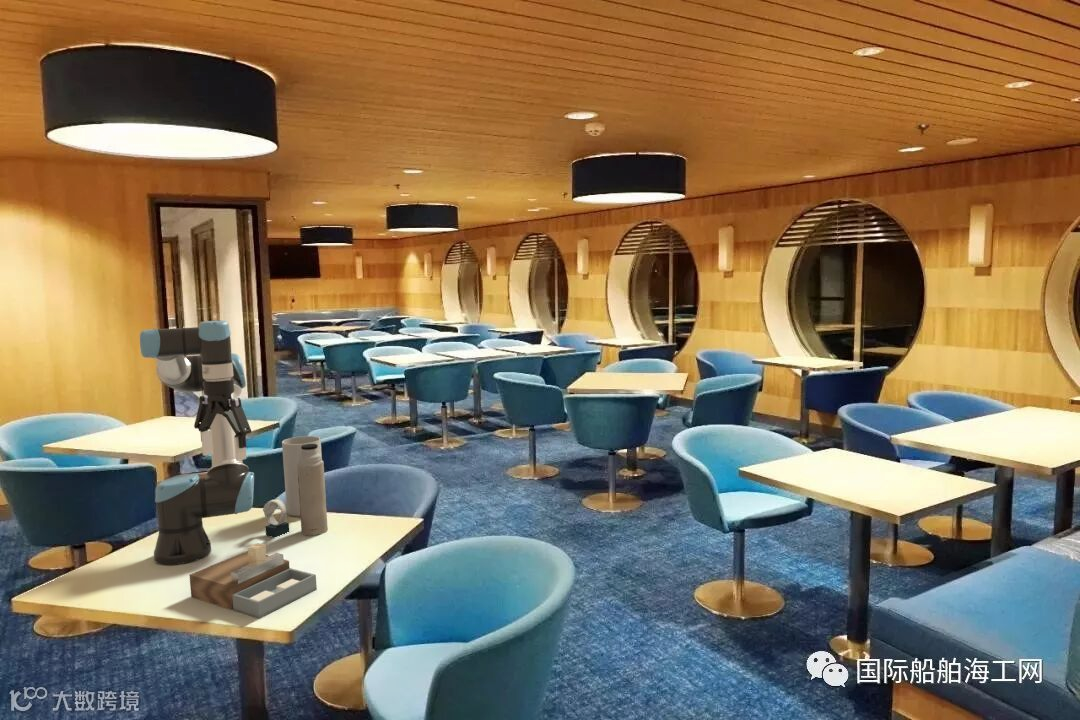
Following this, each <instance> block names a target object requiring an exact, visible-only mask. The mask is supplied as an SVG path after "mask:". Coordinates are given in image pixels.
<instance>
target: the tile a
mask: <svg viewBox="0 0 1080 720" xmlns="http://www.w3.org/2000/svg"><path fill="white" fill-rule="evenodd" d="M272 594H274V593H273V592H269V591H266V590H265V591H263V592H261V593H259V594H257V595H255V596H253V597H251V598H250V599H253V600H257V601H260V600H262V599H264V598H266V597H268V596H270V595H272Z"/></svg>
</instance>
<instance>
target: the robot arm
mask: <svg viewBox="0 0 1080 720" xmlns="http://www.w3.org/2000/svg"><path fill="white" fill-rule="evenodd" d="M230 329H231V328H230V323H229V322H228V321H227V320H207V321H201V322H199V324H198V327H197V326H196V327H195V326H194V327H178V328H176V327H175V328H173V327H172V328H151V329H144V330H142V331H140V334H139V348H140V353H141V356H142V357H144V358H148V359H149V358H151V359H154V360H155V363H156V367H155V368H156V369H155V372H156V375H157V377H158V380H160V381H161V383H163V385H165V386H167V387H168V388H171V389H174V390H177V391H180V392H181V391H182V392H187V393H196V392H197V393H198V392H202V393H201V395H200V396H199V400H198V401H199V405H198V409H197V413H196V417H195V419H194V420H195V421H194V424H193V428H194V429H197V430H198V431H199V432H200V442H201V450H202V456H209V455H211V467H210V468H209V469H208V470H207V471H206V475H207V476H206V477H201V478H200V476H199V474H198V473H183V474H178V475H175V476H172V477H169V478H166V479H164V480H161V482H159V483H158V484H157V485H156V487H155V489H154V490H155V491H154V493H155V499H154V502H155V504H156V516H157V527H158V528H157V529H158V534H157V535H158V537H157V539H156V544H155V548H154V550H153V559H154V562H155V563H156V564H158V565H165V566H173V565H175V566H176V565H183V564H188V563H191V562H195V561H199V560H201V559H203V558H205V557H208V555H210V554H211V552H212V543H211V541H210V539H209V536H208V534H207V532H206V530H205V528H204V526H203V525H204V524H203V519H205V518H212V517H221V516H222V517H223V516H228V515H238V514H241V513H246V512H249V511H250V510H252V508H253V503H254V491H255V490H254V488H255V487H254V485H255V473H254V472H253V471H252V472H251V471H250V470H249V467H248V465H246V464H244V463H243V462H244V461H243V460H247V450H246V449H247V438H246V436H247V435H248V434H251V433H252V429H251V426H250V424H249V421H248V419H247V417H246V414H245V411H244V409H243V406H242V400H241V398H240V397H239V396H240V395H241V393H242V389H244V388H246V386H247V385H246V383H247V381H246V377H245V372H244V367H243V362H242V359H241V357H240V356H239V354H237V353H234V352H233V353H232V344H231V343H232V339H231V330H230Z"/></svg>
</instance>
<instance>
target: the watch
mask: <svg viewBox="0 0 1080 720" xmlns="http://www.w3.org/2000/svg"><path fill="white" fill-rule="evenodd" d="M278 508H279V509H280V515H279V518H278V519H279V520H278V521H277V520H276V519H275V517H274V516H273V514H274V513H275V511H276V510H277V509H278ZM262 511H263V513H264V517H265V518H266V520H267V521H268V523H269V524H267V525H265V526H264V528H265V536H266V535H267V536H266V537H269V536H272V537H271V538H274V537H277V536H279V537H281V536H280V535H282V534H284V535H286V534H288V533H287V532H289V533H290V523H289V522H288V521H287V522H286V520H287V518H288V513H287V507H286V504H285V502H284V501H283V500H281V499H279V498H276V499H271V500H269V501H267V502H266V503H265V505H264V506H263V508H262ZM285 533H286V534H285ZM282 536H283V535H282ZM277 538H278V537H277Z"/></svg>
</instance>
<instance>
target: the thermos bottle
mask: <svg viewBox="0 0 1080 720" xmlns="http://www.w3.org/2000/svg"><path fill="white" fill-rule="evenodd" d="M317 447H318V445H317V444H306V445H302V446H301V449H302V451H301V453H302V455H300V456H299V463H297V472H298V487H299V502H300V531H301V534H302V533H303V534H305V535H304V536H307V535H314V536H318V534H319V535H323V534H325V533H326V532H328V527H329V526H328V514H327V499H326V498H327V496H326V480H325V467H324V465H325V463H324V460H323V459H322V460H321V455H322V454H321V455H320V454H319V453H318V449H317ZM322 533H323V534H322ZM303 534H302V535H303Z"/></svg>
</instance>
